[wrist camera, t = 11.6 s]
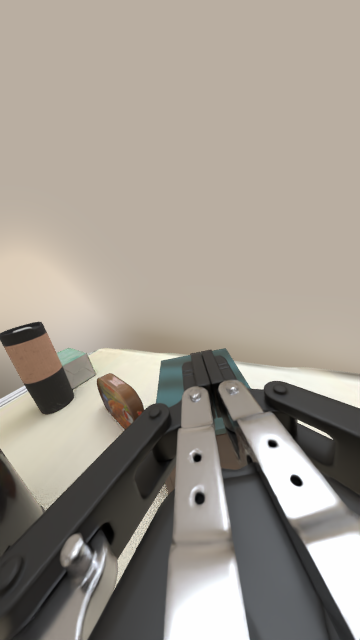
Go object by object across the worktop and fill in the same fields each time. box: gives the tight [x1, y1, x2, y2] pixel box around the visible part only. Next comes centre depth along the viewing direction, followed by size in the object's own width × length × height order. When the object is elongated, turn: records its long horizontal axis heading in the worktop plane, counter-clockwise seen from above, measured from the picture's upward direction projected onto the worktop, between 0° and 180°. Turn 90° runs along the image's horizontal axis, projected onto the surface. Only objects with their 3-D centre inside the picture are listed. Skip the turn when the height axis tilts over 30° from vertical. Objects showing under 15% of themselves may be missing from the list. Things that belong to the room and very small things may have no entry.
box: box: [57, 348, 95, 389], centre depth 54 cm, size 7×14×8 cm, turn 54°
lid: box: [156, 349, 251, 435], centre depth 26 cm, size 16×13×1 cm
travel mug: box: [0, 322, 74, 414], centre depth 41 cm, size 8×8×20 cm
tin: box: [97, 373, 144, 430], centre depth 34 cm, size 15×3×8 cm, turn 45°
